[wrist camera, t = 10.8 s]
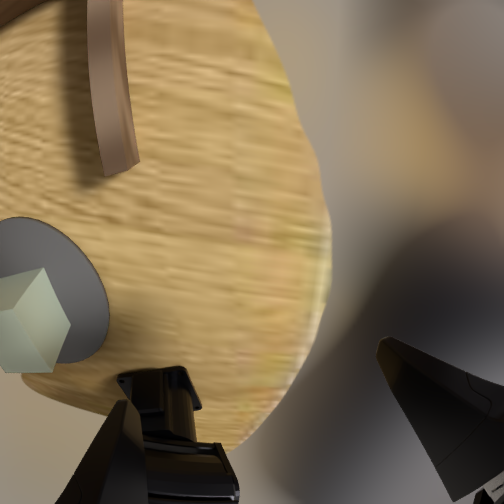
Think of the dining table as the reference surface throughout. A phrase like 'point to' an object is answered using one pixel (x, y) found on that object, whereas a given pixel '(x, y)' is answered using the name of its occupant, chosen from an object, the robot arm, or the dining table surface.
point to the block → (30, 323)
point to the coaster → (59, 280)
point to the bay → (102, 79)
